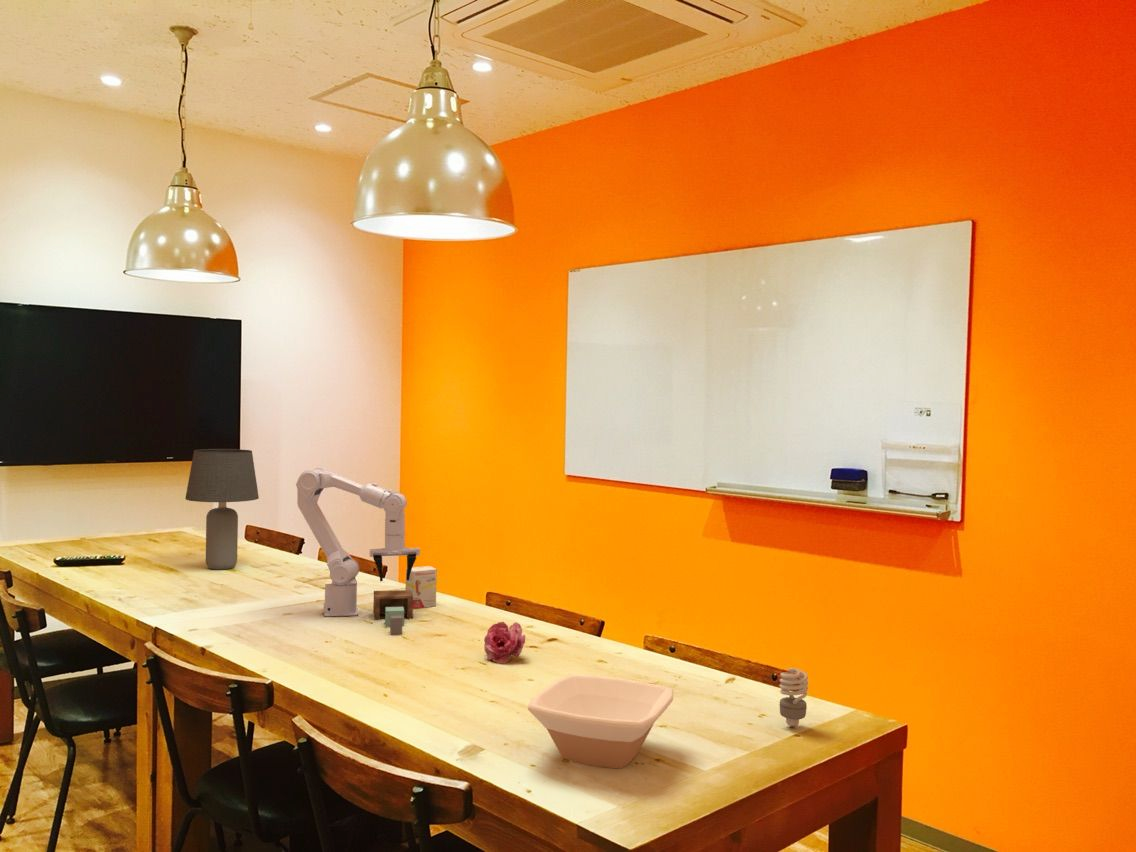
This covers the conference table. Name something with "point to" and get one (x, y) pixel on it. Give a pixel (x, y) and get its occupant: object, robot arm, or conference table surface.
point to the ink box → (422, 586)
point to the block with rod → (394, 619)
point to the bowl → (599, 717)
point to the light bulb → (790, 705)
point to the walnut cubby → (393, 602)
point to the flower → (503, 642)
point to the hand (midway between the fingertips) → (394, 580)
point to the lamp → (222, 498)
